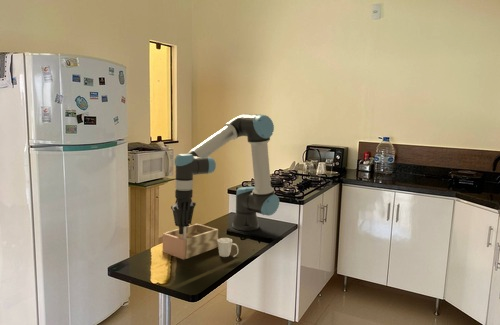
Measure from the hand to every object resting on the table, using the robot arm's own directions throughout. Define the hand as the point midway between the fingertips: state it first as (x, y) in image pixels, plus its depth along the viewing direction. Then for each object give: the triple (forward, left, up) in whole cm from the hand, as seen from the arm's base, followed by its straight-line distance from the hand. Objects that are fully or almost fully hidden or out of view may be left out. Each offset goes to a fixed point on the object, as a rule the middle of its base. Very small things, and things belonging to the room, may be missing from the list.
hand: (183, 240), depth 173 cm
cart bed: (-6, 0, -7) cm, 9 cm away
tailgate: (+5, 0, -5) cm, 8 cm away
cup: (-11, +18, -7) cm, 22 cm away
